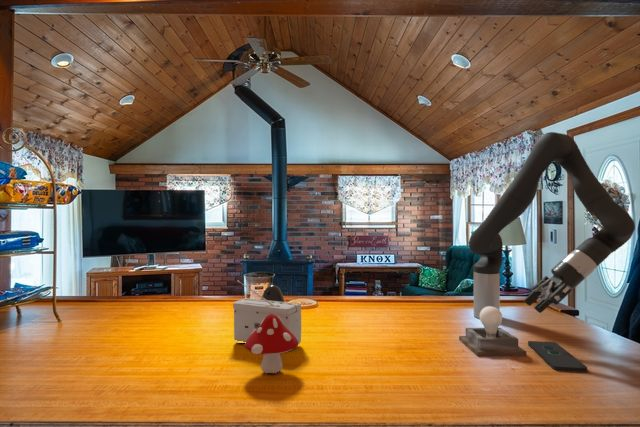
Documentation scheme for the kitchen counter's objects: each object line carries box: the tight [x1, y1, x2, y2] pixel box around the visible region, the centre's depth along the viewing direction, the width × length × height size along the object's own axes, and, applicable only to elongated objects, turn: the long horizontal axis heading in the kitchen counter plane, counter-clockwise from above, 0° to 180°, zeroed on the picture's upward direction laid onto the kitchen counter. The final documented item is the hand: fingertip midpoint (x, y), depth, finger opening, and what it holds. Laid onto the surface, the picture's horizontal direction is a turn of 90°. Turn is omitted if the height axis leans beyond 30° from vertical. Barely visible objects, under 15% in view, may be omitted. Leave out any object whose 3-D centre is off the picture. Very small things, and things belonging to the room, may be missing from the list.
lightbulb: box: [479, 306, 503, 338], centre depth 118 cm, size 6×6×11 cm
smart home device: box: [527, 340, 588, 373], centre depth 110 cm, size 8×2×20 cm
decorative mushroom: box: [243, 314, 299, 374], centre depth 101 cm, size 14×14×15 cm
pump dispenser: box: [260, 284, 285, 302], centre depth 139 cm, size 10×10×15 cm
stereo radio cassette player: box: [232, 279, 302, 345], centre depth 122 cm, size 21×8×20 cm, turn 65°
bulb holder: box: [458, 327, 527, 357], centre depth 118 cm, size 14×14×4 cm
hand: (531, 306), depth 116 cm, fingers open, 8 cm apart
